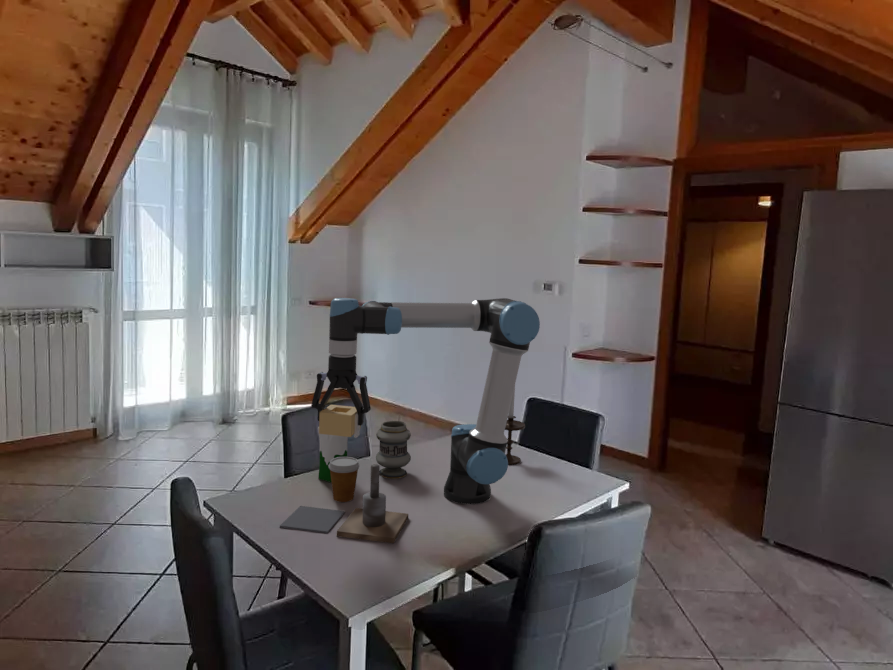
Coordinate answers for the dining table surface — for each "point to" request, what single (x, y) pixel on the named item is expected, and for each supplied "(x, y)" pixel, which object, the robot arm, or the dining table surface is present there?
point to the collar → (337, 420)
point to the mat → (312, 519)
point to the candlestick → (511, 426)
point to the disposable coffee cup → (343, 478)
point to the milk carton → (330, 453)
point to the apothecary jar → (393, 449)
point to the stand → (373, 517)
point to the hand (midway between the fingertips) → (340, 434)
